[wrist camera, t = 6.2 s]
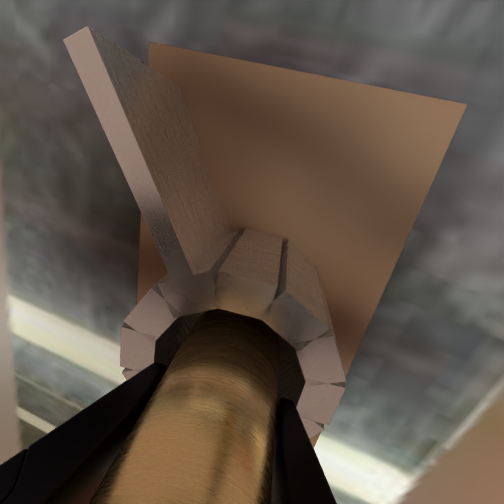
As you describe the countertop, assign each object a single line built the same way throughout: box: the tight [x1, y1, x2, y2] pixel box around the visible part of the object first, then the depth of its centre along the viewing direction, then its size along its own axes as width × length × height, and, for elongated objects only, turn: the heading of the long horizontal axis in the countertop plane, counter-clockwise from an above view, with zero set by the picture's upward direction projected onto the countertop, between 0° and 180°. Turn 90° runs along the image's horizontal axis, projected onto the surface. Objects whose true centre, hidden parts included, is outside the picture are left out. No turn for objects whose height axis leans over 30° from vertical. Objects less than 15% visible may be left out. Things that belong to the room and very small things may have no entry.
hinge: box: [63, 26, 346, 438], centre depth 11 cm, size 19×9×5 cm, turn 168°
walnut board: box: [137, 42, 467, 448], centre depth 14 cm, size 20×12×1 cm, turn 168°
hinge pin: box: [89, 308, 280, 504], centre depth 6 cm, size 5×5×8 cm
